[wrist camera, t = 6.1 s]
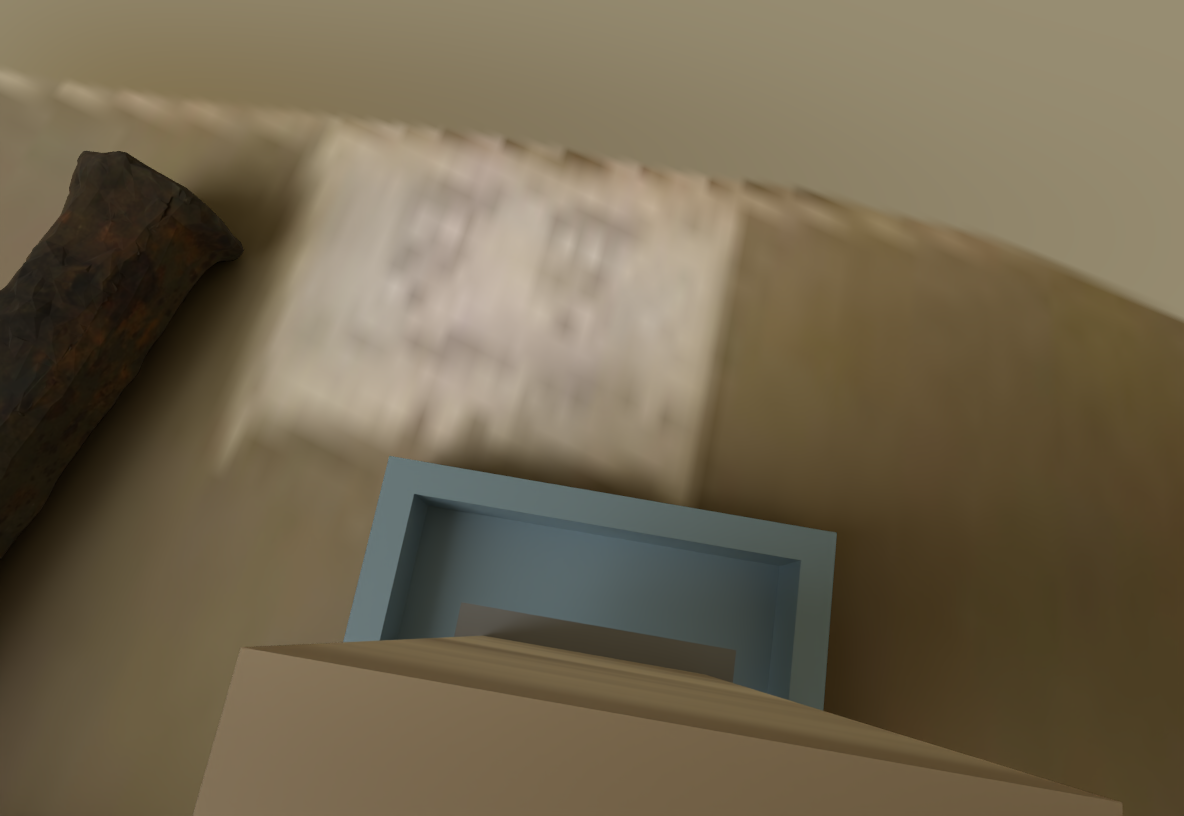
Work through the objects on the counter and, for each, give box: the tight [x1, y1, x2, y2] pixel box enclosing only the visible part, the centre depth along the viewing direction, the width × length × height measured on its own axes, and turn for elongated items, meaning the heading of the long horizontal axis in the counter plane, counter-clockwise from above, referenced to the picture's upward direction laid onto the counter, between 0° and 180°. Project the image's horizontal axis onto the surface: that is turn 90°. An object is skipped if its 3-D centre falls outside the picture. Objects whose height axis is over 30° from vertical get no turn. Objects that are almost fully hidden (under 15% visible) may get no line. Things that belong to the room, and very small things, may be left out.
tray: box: [343, 456, 837, 711], centre depth 18 cm, size 11×11×2 cm
